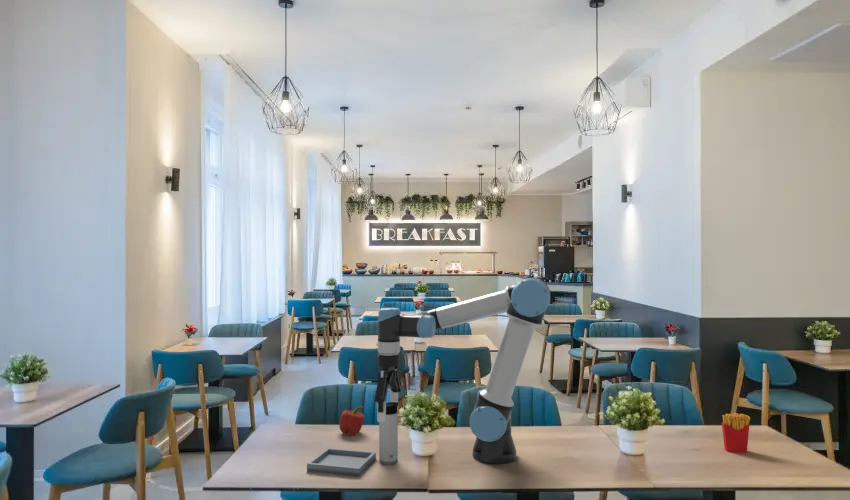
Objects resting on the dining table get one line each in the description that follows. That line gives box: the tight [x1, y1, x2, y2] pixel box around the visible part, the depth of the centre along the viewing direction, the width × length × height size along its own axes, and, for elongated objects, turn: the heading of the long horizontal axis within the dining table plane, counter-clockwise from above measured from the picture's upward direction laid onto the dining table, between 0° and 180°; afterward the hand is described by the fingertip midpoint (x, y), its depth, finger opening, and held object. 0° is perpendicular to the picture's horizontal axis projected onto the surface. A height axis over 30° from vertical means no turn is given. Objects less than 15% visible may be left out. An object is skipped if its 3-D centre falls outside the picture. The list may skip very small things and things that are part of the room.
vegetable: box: [338, 405, 365, 436], centre depth 227 cm, size 11×10×10 cm
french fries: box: [721, 412, 751, 454], centre depth 205 cm, size 9×4×13 cm, turn 85°
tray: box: [306, 447, 377, 477], centre depth 192 cm, size 18×16×2 cm
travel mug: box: [378, 401, 399, 466], centre depth 195 cm, size 6×7×20 cm
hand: (387, 416), depth 195 cm, fingers open, 13 cm apart
